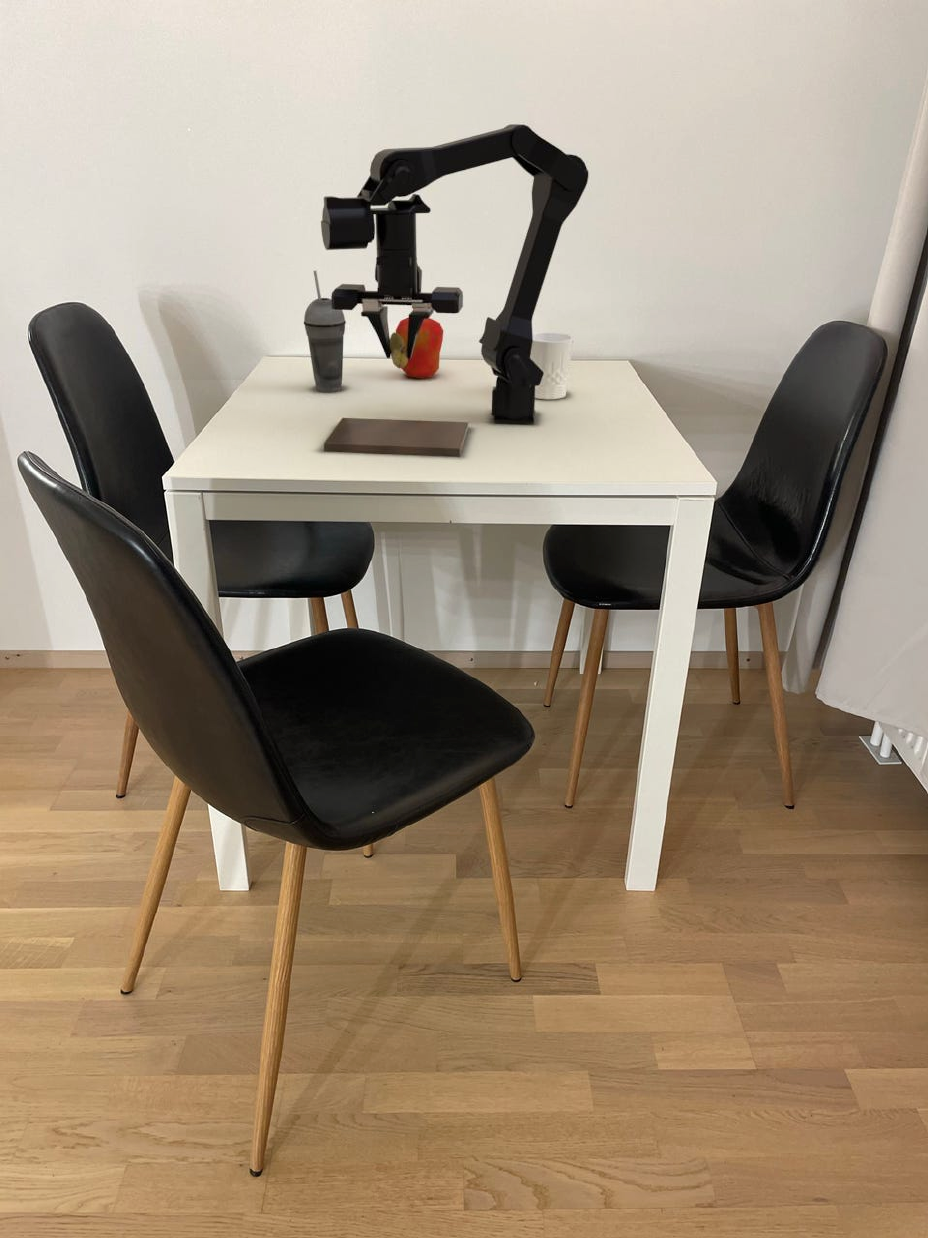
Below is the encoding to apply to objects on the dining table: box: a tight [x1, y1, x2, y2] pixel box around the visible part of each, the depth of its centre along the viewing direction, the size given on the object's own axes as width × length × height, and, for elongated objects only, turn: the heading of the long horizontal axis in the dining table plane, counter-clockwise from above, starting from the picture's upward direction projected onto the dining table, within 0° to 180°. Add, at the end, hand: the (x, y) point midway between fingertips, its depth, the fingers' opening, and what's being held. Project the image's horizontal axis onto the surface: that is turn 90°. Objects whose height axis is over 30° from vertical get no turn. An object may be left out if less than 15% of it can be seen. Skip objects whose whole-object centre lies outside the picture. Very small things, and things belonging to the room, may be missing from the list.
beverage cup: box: [303, 270, 347, 393], centre depth 161 cm, size 7×7×20 cm
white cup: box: [530, 331, 574, 400], centre depth 161 cm, size 8×8×10 cm
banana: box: [389, 331, 408, 369], centre depth 139 cm, size 10×2×4 cm, turn 9°
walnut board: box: [323, 417, 469, 457], centre depth 140 cm, size 20×13×1 cm, turn 85°
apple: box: [395, 316, 444, 379], centre depth 171 cm, size 9×8×12 cm
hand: (399, 357), depth 139 cm, fingers closed on banana, 3 cm apart
